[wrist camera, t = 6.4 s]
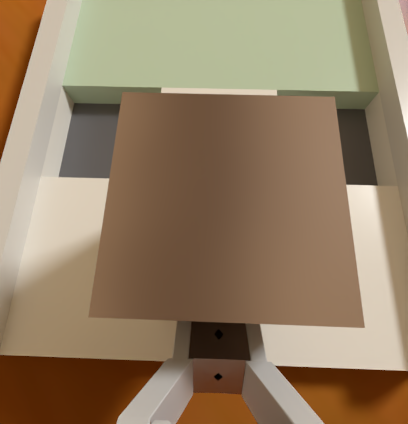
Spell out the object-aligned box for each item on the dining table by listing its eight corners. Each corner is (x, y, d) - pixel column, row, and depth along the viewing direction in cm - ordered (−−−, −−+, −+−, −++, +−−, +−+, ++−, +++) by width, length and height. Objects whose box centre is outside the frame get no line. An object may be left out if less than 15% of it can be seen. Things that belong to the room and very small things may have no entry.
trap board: (362, 6, 24) (387, -42, 20) (432, 363, 15) (496, 382, 12) (80, 1, 24) (60, -46, 21) (-2, 346, 16) (-57, 360, 12)
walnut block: (266, 202, 16) (334, 96, 8) (270, 308, 14) (365, 327, 6) (166, 199, 16) (122, 92, 8) (158, 304, 15) (88, 317, 6)
